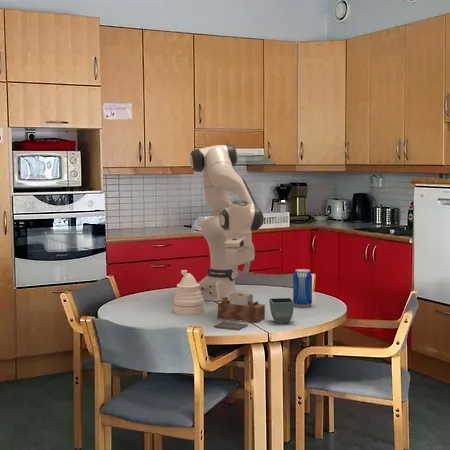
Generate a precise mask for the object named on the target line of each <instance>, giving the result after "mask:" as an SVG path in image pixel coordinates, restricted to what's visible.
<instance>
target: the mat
mask: <svg viewBox="0 0 450 450" xmlns="http://www.w3.org/2000/svg"><path fill="white" fill-rule="evenodd" d="M248 326H249V325H248V324H247V323H238V322H232V321H221V322H218V323H217V324H215V325H214V324H213V328H214V327H215V328H216V329H217V328H218V329H222V330H223V329H225V330H231V331H232V330H234V331H240V330H242V328H243V329H244V328H246V327H248Z"/></svg>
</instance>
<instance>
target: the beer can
mask: <svg viewBox="0 0 450 450" xmlns="http://www.w3.org/2000/svg"><path fill="white" fill-rule="evenodd" d="M292 300H293V301H294V307H297V308H310V307H311V306H312V303H313V274H312V273H311V270H310V269H306V268H302V269H301V268H298V269H295V270H294V272H293V275H292ZM309 306H310V307H309Z"/></svg>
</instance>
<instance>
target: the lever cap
mask: <svg viewBox="0 0 450 450" xmlns="http://www.w3.org/2000/svg"><path fill="white" fill-rule="evenodd" d="M253 295H254V294H252V293H251V294H250V293H244V292H236V293H233V294H231V295H230V305H240V306H249V304H251V303H253V302H254V299H253V298H254V296H253Z"/></svg>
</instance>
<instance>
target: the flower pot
mask: <svg viewBox="0 0 450 450" xmlns="http://www.w3.org/2000/svg"><path fill="white" fill-rule="evenodd" d="M268 302H269V308H270V313H271V316H272V319H273V320H274V322H275V323H276V324H289V323H290V321H291V320H292V317H293V314H294V307H295V305H294V301H293V298H291V297H281V298H280V297H278V298H274V297H273V298H269V301H268Z"/></svg>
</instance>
